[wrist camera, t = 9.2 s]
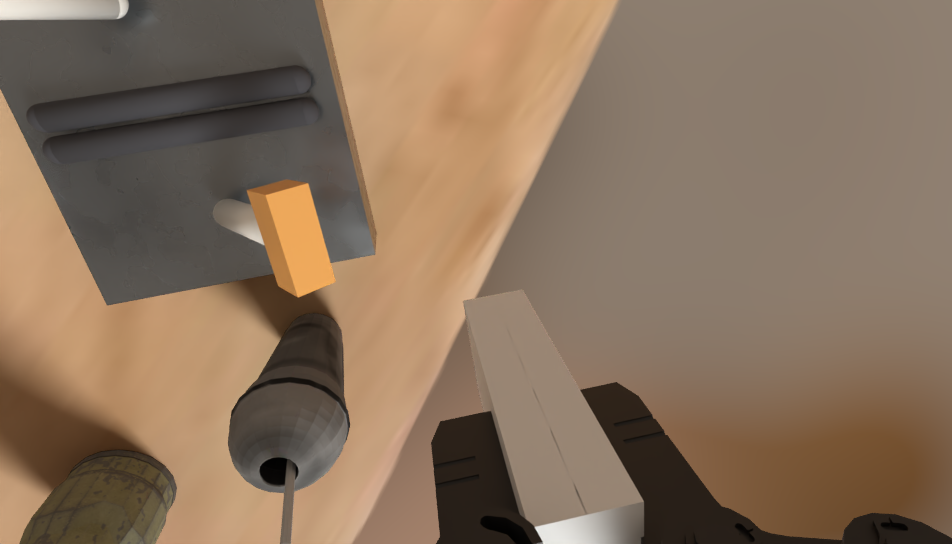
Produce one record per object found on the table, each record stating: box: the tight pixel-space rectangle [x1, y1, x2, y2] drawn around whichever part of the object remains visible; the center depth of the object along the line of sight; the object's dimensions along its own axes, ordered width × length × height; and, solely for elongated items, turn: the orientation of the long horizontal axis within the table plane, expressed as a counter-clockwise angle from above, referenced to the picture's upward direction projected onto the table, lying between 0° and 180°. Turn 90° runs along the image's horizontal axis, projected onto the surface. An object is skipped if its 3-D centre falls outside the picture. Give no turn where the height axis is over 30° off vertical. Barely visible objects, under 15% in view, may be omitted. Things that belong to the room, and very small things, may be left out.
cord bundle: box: [26, 65, 319, 165], centre depth 29 cm, size 16×3×2 cm, turn 98°
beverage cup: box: [228, 313, 350, 544], centre depth 33 cm, size 7×7×20 cm
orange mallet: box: [213, 179, 336, 297], centre depth 27 cm, size 2×5×12 cm
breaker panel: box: [0, 0, 376, 305], centre depth 32 cm, size 18×22×5 cm
